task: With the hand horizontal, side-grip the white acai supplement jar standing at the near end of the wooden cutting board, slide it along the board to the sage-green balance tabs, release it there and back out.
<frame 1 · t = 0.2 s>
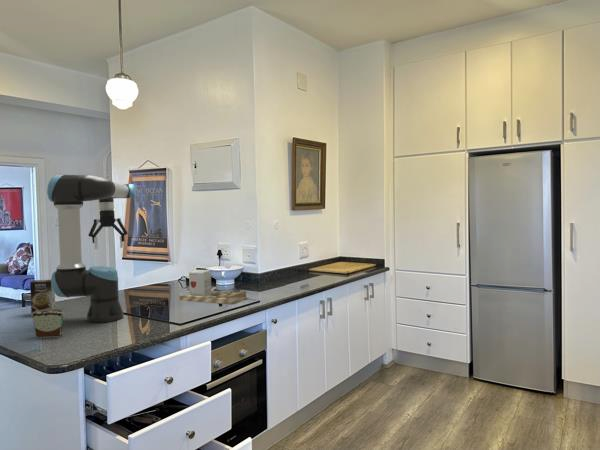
hand: (109, 248, 245), 28 cm above the countertop, tool pointing down, fingers open, 13 cm apart
supplement box: (200, 298, 240), on the countertop
coffee box: (43, 314, 211), on the countertop
wooden cutting board: (211, 298, 237), on the countertop
food container: (52, 335, 175), on the countertop
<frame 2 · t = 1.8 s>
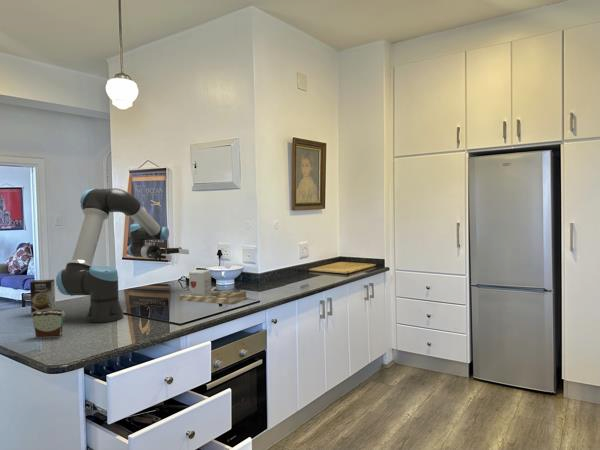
hand: (180, 254, 241), 24 cm above the countertop, tool horizontal, fingers open, 13 cm apart
nothing on the countertop moved.
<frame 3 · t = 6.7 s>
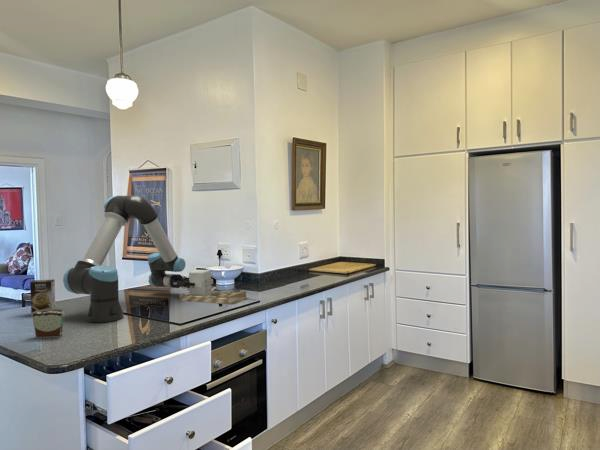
hand: (206, 282, 238), 9 cm above the countertop, tool horizontal, fingers closed on supplement box, 10 cm apart
supplement box: (200, 298, 240), on the countertop, touching gripper
everything else where it was.
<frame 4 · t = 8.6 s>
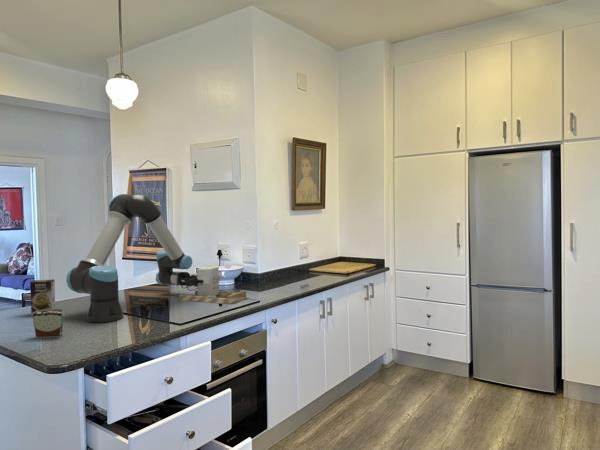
hand: (214, 279, 236), 10 cm above the countertop, tool horizontal, fingers closed on supplement box, 10 cm apart
supplement box: (208, 295, 238), point 2 cm above the countertop, touching gripper
everything else where it was.
when the fingers open (9 cm above the countertop, at t = 10.7 s): supplement box stays where it is, on the countertop.
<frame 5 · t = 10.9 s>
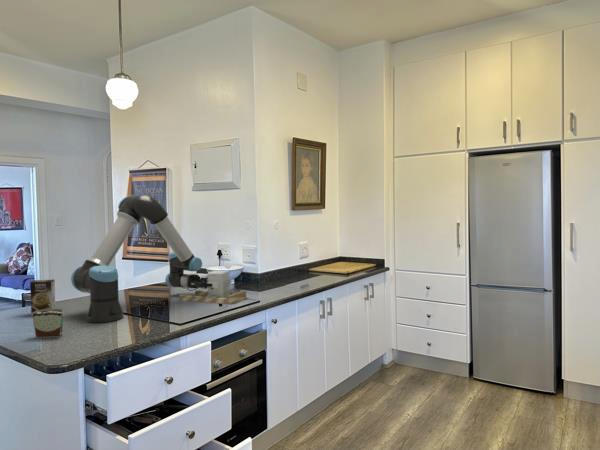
hand: (224, 283, 233), 9 cm above the countertop, tool horizontal, fingers open, 12 cm apart
supplement box: (219, 300, 235), on the countertop
everything else where it was.
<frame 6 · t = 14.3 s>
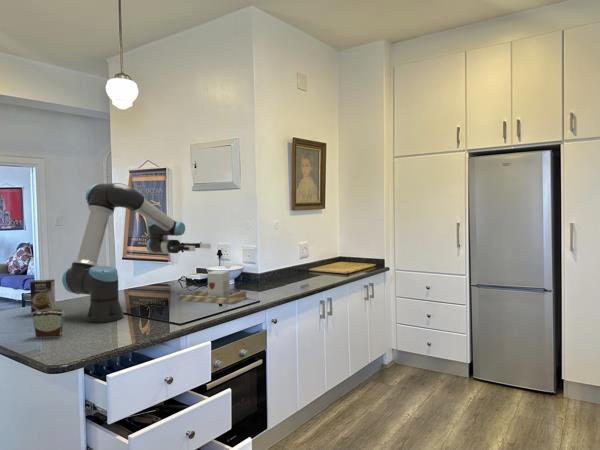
hand: (202, 247, 238), 28 cm above the countertop, tool horizontal, fingers open, 13 cm apart
nothing on the countertop moved.
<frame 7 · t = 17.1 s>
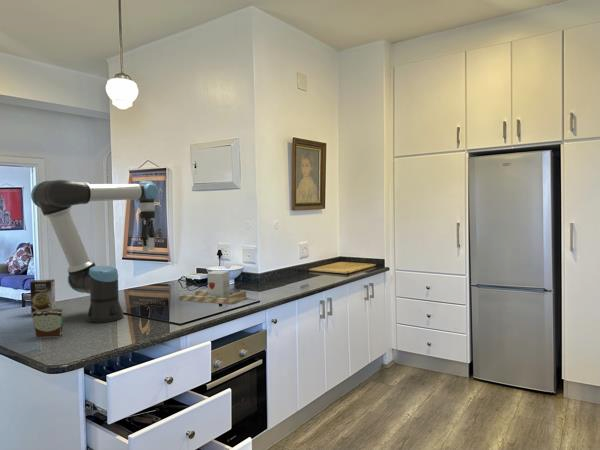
hand: (148, 251, 234), 27 cm above the countertop, tool pointing down, fingers open, 13 cm apart
nothing on the countertop moved.
at the end: supplement box inside the target area (0.2 cm from its centre), on the countertop; supplement box tilted 0°; the gripper is holding nothing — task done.
